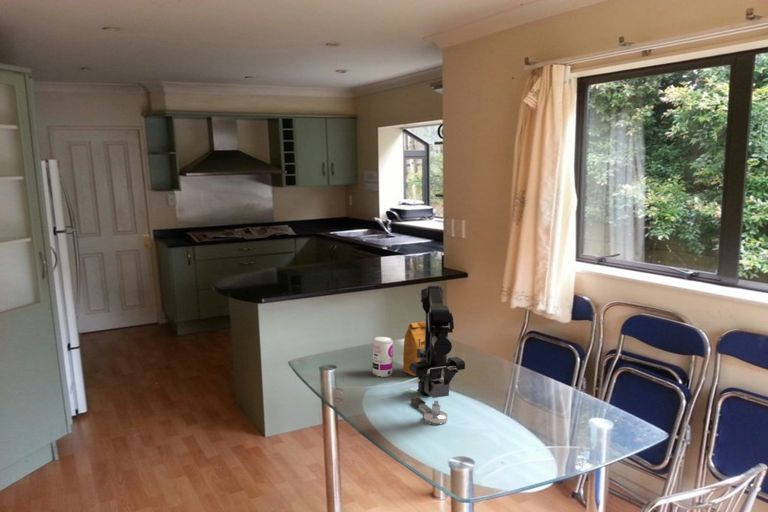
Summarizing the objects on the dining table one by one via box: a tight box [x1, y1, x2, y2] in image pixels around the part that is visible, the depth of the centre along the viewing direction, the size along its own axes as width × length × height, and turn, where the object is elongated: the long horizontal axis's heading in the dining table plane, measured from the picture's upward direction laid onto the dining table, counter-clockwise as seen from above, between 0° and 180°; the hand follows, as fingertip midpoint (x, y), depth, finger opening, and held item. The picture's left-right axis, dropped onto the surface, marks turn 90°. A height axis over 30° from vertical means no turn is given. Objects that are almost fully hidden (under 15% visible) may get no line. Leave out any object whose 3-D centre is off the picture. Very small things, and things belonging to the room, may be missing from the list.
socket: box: [425, 378, 450, 399], centre depth 199 cm, size 6×6×4 cm
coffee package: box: [402, 320, 425, 377], centre depth 245 cm, size 10×12×22 cm
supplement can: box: [372, 336, 394, 378], centre depth 243 cm, size 8×8×15 cm
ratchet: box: [410, 397, 448, 425], centre depth 206 cm, size 8×20×6 cm, turn 24°
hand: (436, 390), depth 200 cm, fingers closed on socket, 6 cm apart
